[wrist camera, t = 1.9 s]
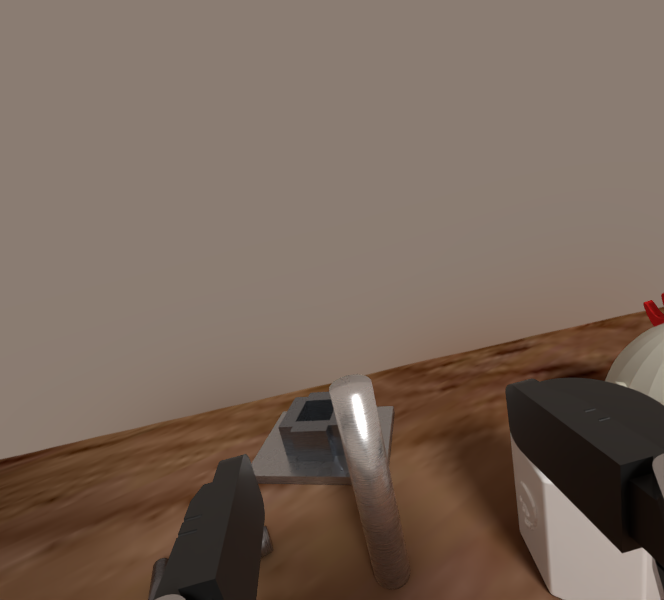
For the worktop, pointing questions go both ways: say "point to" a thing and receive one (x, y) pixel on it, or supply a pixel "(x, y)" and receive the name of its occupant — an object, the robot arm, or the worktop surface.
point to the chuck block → (310, 444)
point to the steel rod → (371, 478)
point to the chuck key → (161, 563)
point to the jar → (571, 524)
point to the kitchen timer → (643, 359)
